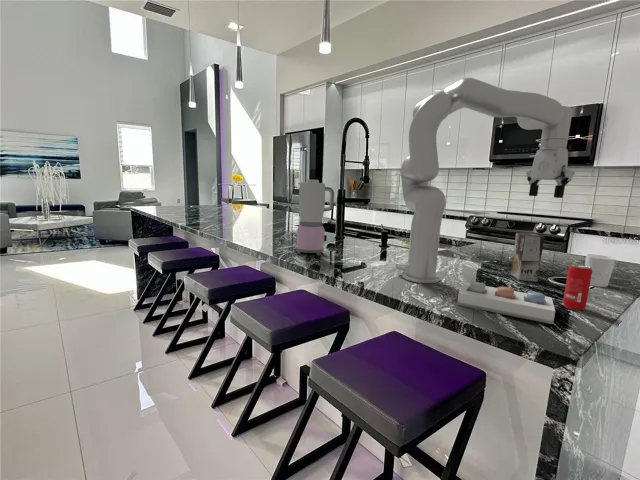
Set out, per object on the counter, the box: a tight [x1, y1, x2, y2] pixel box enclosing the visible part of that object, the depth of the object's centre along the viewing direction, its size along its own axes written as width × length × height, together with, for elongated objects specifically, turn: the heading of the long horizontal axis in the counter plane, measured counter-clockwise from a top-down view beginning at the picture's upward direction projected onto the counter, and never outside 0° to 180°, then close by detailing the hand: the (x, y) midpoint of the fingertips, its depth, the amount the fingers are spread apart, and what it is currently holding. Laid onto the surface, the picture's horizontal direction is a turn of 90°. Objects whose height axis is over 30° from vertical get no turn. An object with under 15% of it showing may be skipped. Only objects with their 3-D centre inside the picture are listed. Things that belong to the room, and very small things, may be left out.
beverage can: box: [562, 263, 592, 312], centre depth 95 cm, size 5×5×12 cm
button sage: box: [469, 281, 487, 294], centre depth 97 cm, size 4×4×3 cm
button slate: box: [526, 291, 546, 305], centre depth 90 cm, size 4×4×3 cm
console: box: [456, 282, 556, 325], centre depth 94 cm, size 22×12×3 cm, turn 60°
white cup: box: [584, 253, 616, 288], centre depth 120 cm, size 8×8×10 cm
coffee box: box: [510, 232, 545, 283], centre depth 124 cm, size 9×6×16 cm
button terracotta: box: [497, 286, 515, 299], centre depth 93 cm, size 4×4×3 cm
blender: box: [295, 178, 335, 256], centre depth 150 cm, size 16×12×32 cm
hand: (545, 196), depth 119 cm, fingers open, 9 cm apart
